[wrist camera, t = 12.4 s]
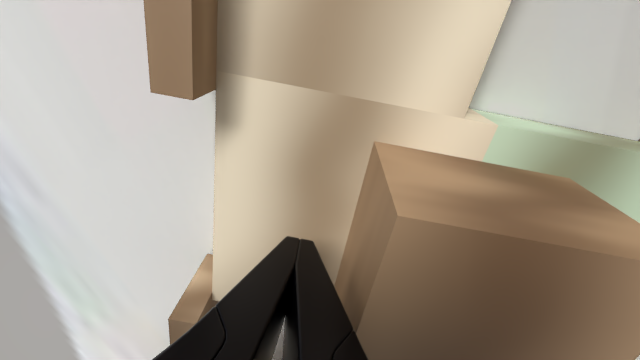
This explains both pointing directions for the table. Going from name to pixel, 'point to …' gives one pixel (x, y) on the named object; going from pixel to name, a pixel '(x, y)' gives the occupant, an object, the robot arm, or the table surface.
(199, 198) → the table surface
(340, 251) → the box
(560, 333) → the block
